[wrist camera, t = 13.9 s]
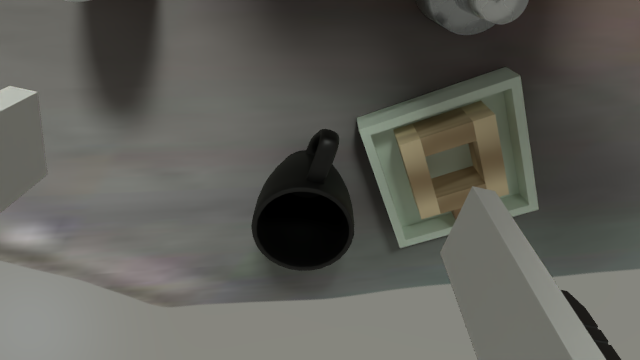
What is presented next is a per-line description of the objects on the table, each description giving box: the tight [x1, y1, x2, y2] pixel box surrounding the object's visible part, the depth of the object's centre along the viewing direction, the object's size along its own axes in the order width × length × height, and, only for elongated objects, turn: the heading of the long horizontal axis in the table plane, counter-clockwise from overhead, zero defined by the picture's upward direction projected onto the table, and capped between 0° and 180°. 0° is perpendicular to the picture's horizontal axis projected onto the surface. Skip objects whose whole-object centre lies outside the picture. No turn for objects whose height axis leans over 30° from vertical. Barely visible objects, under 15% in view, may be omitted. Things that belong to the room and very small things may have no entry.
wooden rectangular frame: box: [393, 101, 509, 220], centre depth 38 cm, size 10×8×4 cm
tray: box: [357, 67, 539, 248], centre depth 39 cm, size 14×14×3 cm
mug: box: [252, 129, 354, 270], centre depth 36 cm, size 8×12×10 cm
